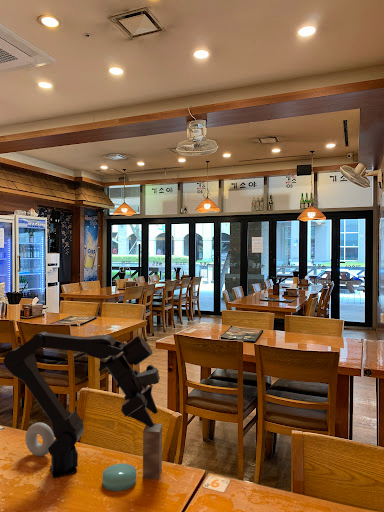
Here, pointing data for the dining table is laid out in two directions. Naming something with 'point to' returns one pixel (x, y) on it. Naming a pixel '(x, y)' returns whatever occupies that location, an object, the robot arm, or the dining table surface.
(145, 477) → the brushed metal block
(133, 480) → the teal base
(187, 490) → the dining table surface
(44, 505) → the dining table surface
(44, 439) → the donut
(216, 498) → the dining table surface
